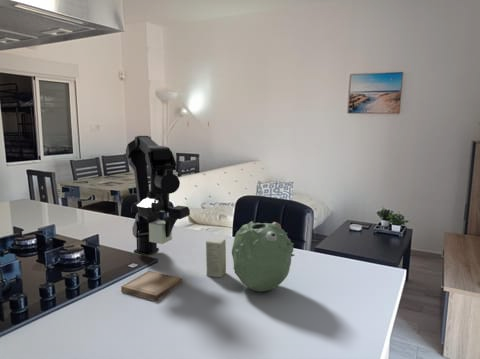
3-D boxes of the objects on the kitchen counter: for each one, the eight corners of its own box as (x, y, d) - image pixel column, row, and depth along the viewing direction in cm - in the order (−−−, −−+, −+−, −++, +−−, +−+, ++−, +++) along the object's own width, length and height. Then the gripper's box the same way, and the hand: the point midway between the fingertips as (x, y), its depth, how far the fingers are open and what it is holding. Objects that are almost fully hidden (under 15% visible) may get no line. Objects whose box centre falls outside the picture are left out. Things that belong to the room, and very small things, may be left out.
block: (149, 241, 114) (148, 223, 113) (159, 237, 118) (158, 219, 117) (162, 244, 112) (161, 225, 111) (171, 239, 116) (171, 221, 115)
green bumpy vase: (245, 271, 115) (246, 210, 112) (301, 286, 105) (304, 220, 102) (217, 291, 102) (218, 222, 98) (278, 309, 92) (281, 234, 89)
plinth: (121, 291, 100) (121, 286, 100) (149, 275, 111) (149, 270, 111) (156, 300, 95) (156, 295, 95) (181, 282, 106) (181, 277, 106)
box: (226, 272, 114) (226, 239, 112) (221, 278, 110) (221, 243, 108) (211, 270, 116) (211, 237, 114) (205, 275, 112) (205, 241, 110)
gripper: (117, 189, 109) (119, 238, 111) (169, 195, 101) (169, 248, 104) (142, 183, 119) (143, 229, 121) (190, 188, 111) (190, 237, 114)
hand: (160, 235), depth 115 cm, fingers closed on block, 5 cm apart
